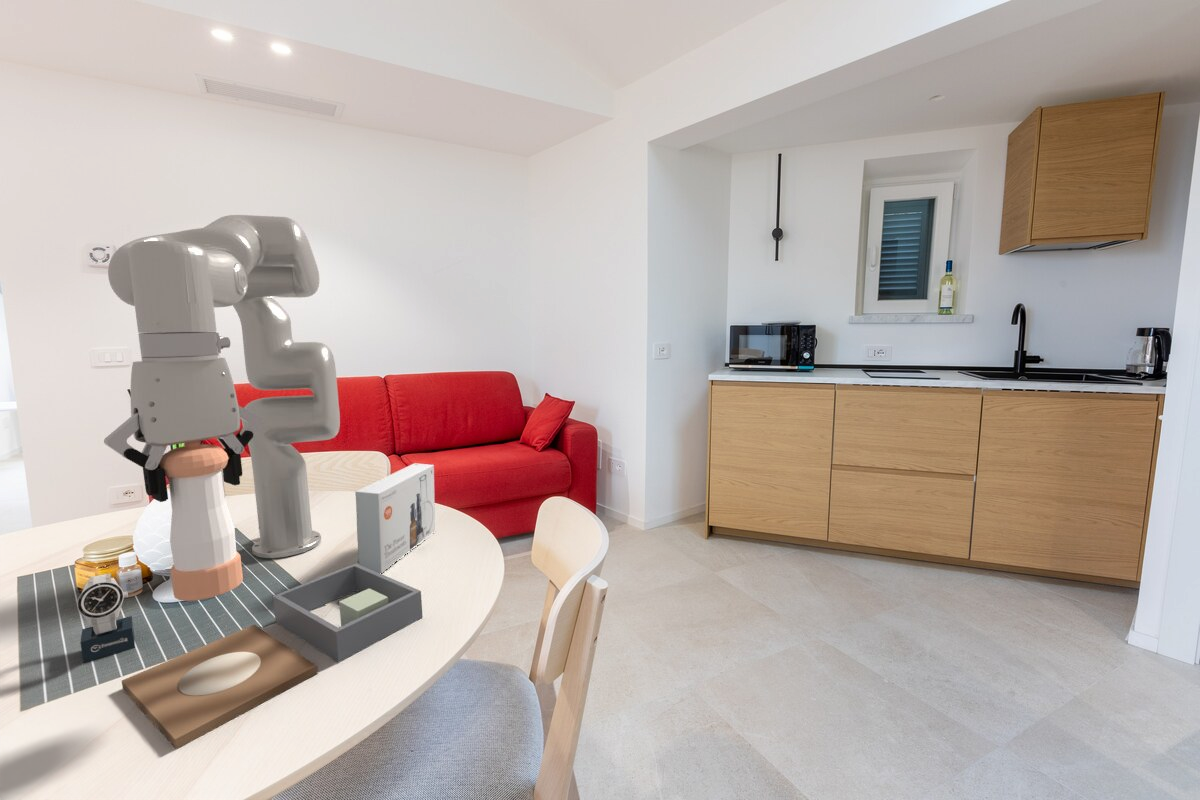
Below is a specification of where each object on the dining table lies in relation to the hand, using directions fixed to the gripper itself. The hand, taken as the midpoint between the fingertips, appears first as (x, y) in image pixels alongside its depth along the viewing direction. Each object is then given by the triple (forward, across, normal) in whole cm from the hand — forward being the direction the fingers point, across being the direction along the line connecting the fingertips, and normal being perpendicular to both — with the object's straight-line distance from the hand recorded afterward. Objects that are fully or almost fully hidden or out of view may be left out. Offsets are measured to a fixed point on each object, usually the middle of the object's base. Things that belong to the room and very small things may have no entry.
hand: (197, 490), depth 69 cm
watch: (+26, +6, -22) cm, 35 cm away
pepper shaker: (+13, 0, 0) cm, 13 cm away
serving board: (+26, 0, 0) cm, 26 cm away
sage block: (+26, -18, +4) cm, 32 cm away
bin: (+26, -18, 0) cm, 32 cm away
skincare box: (+26, -39, -16) cm, 50 cm away
